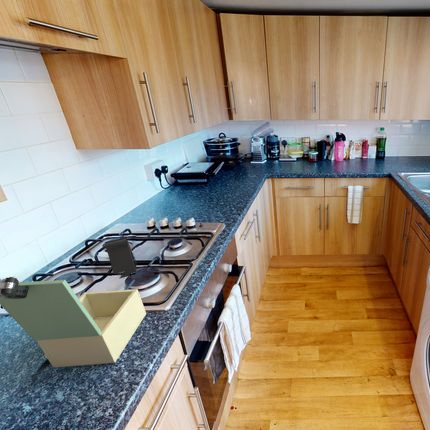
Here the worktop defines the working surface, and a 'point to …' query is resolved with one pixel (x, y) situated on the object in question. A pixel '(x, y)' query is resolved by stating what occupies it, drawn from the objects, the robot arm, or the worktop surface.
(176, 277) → the worktop surface
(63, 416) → the worktop surface
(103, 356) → the box
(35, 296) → the lid
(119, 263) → the phone stand
